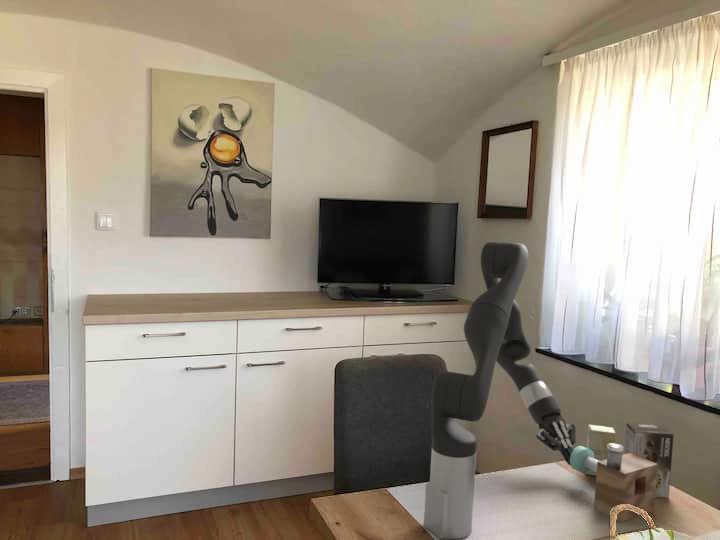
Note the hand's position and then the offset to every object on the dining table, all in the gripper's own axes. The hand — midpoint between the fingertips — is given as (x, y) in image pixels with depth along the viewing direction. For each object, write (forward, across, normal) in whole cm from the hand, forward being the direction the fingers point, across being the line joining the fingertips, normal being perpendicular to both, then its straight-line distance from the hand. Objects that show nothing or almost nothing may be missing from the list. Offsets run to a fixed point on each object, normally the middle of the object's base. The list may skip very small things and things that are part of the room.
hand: (573, 463), depth 146 cm
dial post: (+6, -5, -14) cm, 16 cm away
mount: (+14, 0, -7) cm, 15 cm away
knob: (+6, 0, -5) cm, 8 cm away
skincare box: (+3, +11, +4) cm, 12 cm away
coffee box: (+12, +13, -4) cm, 18 cm away
